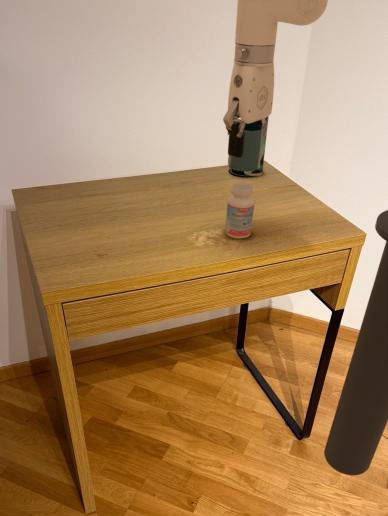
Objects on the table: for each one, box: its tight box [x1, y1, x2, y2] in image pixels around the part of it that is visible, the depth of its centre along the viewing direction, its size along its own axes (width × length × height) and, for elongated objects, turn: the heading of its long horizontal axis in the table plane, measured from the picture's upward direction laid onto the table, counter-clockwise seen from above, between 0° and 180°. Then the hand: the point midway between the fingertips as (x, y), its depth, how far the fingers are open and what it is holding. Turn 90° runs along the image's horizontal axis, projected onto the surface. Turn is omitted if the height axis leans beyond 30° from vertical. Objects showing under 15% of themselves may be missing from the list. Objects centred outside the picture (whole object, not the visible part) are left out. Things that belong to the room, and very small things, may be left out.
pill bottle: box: [224, 182, 255, 240], centre depth 112 cm, size 6×6×11 cm
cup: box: [227, 123, 264, 172], centre depth 103 cm, size 7×7×8 cm
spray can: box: [243, 115, 270, 177], centre depth 141 cm, size 6×6×20 cm
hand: (245, 150), depth 104 cm, fingers closed on cup, 7 cm apart
